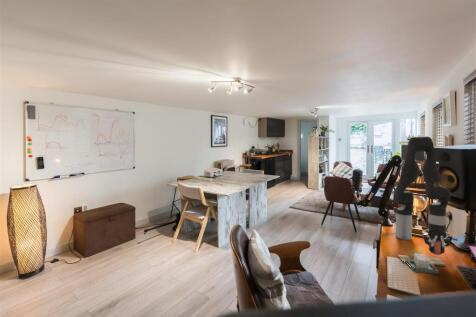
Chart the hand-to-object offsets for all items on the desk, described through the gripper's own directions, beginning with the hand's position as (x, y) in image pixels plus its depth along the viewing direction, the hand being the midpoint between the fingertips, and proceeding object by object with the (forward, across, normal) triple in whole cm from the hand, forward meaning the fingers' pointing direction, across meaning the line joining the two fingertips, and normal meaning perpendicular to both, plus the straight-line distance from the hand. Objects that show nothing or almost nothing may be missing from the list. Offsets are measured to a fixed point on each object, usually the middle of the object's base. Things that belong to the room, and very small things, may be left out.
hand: (436, 252), depth 128 cm
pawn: (+1, 0, 0) cm, 1 cm away
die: (+5, +10, +7) cm, 13 cm away
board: (+6, +8, 0) cm, 9 cm away
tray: (+6, +10, +8) cm, 15 cm away
